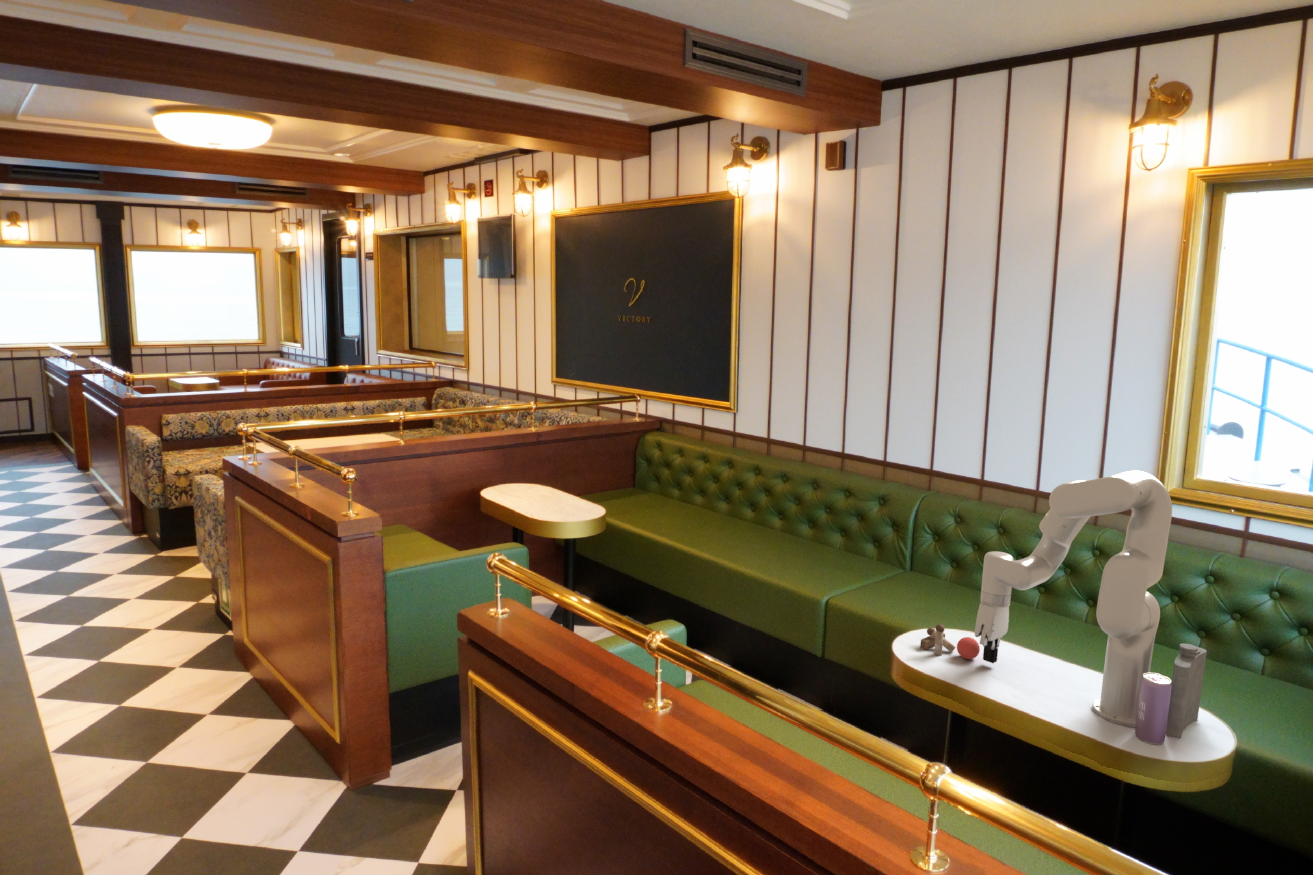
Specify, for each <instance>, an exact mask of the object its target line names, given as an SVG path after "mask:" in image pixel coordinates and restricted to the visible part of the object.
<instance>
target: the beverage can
mask: <svg viewBox="0 0 1313 875" xmlns="http://www.w3.org/2000/svg"><path fill="white" fill-rule="evenodd" d="M1171 684H1172V679H1170V677H1168V676H1166V675H1163V674H1160V673H1157V672H1150V673H1144V674H1143V677H1142V679H1141V686H1140V694H1139V702H1138V710H1137V718H1136V726H1135V727H1134V735H1135V737H1136V738H1137V739H1138V740H1139V741H1141V742H1143V743H1145V744H1149V745H1152V746H1158V745H1159V746H1160V745H1162V744H1163V743H1164V742H1165V741H1166V736H1167V735H1166V727H1167V720H1168V712H1169V704H1170V697H1171V689H1172V685H1171Z"/></svg>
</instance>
